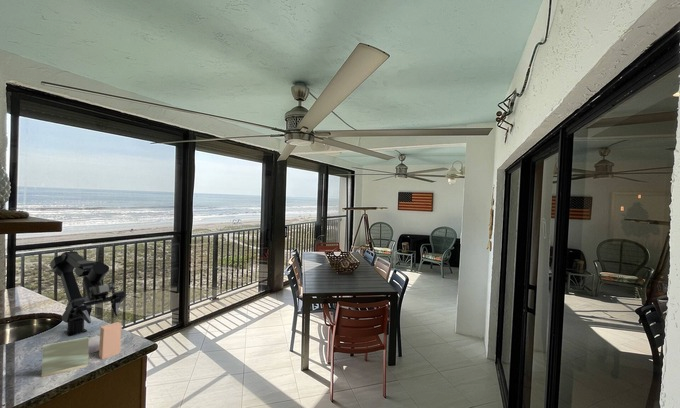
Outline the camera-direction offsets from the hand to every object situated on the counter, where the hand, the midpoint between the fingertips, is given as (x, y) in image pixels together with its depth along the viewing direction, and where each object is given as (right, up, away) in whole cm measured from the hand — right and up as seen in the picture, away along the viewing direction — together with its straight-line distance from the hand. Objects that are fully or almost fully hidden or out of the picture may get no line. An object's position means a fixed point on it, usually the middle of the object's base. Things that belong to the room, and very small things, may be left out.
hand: (103, 319), depth 120 cm
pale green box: (-4, -12, -12) cm, 18 cm away
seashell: (-5, -13, +2) cm, 14 cm away
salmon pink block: (+5, -13, -3) cm, 14 cm away
